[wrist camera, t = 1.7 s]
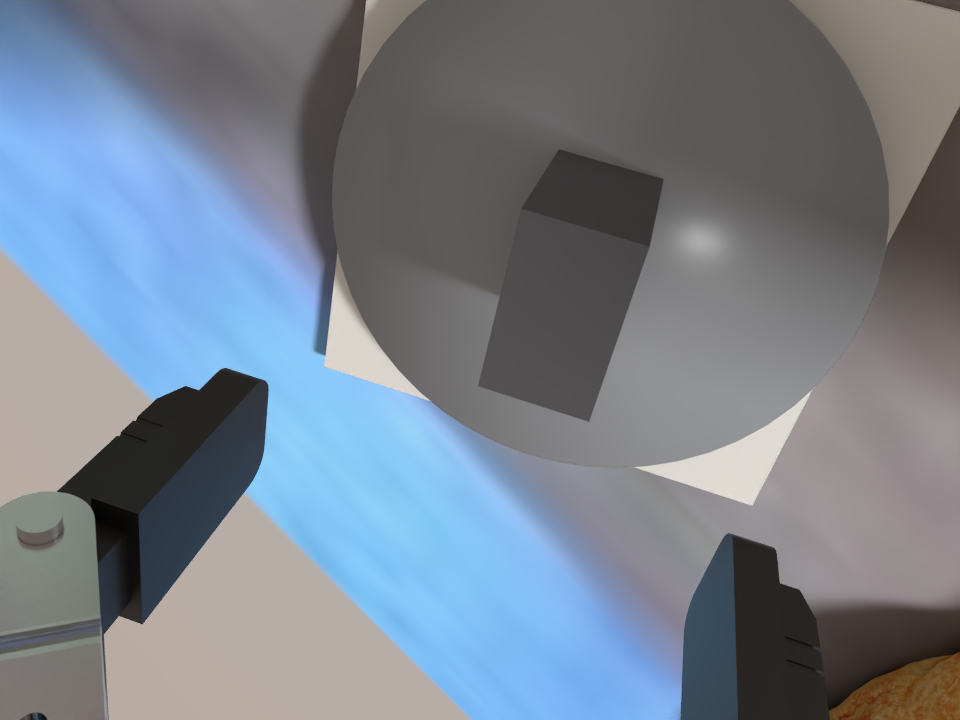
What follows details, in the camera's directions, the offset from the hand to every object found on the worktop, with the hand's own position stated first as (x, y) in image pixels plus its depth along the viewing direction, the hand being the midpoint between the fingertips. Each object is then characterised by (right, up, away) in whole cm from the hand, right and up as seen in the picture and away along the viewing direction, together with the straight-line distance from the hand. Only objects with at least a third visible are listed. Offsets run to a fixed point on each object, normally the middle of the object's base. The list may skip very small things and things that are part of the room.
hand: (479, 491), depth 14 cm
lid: (+3, +6, +11) cm, 13 cm away
